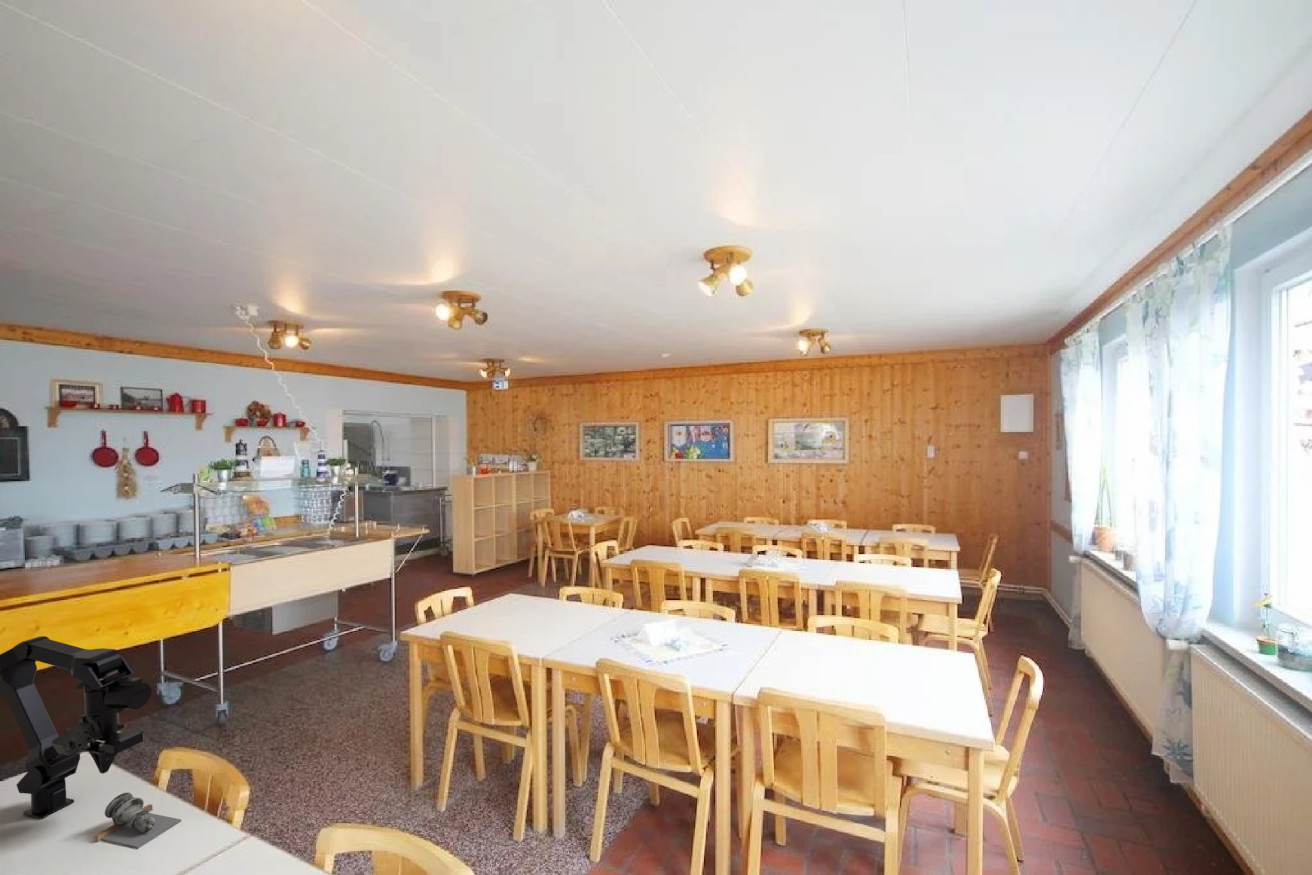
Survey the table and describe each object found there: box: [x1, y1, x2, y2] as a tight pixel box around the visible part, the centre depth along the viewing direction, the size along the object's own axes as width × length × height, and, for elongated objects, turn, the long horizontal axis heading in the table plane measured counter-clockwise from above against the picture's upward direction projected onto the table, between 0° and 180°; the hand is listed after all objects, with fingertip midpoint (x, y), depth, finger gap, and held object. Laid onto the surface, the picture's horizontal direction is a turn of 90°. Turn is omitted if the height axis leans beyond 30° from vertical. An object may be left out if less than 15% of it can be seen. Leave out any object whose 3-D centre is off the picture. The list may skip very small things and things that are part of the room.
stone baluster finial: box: [104, 792, 155, 832], centre depth 132 cm, size 6×6×12 cm
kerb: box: [94, 803, 154, 843], centre depth 134 cm, size 1×11×1 cm, turn 165°
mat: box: [100, 812, 182, 849], centre depth 132 cm, size 11×9×1 cm
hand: (104, 772), depth 138 cm, fingers closed
